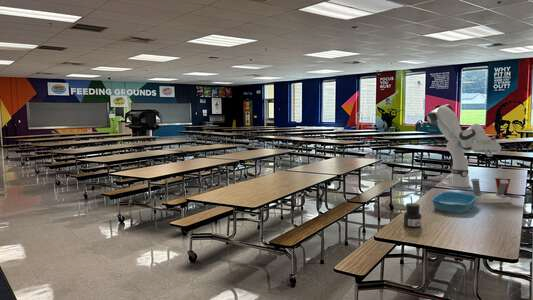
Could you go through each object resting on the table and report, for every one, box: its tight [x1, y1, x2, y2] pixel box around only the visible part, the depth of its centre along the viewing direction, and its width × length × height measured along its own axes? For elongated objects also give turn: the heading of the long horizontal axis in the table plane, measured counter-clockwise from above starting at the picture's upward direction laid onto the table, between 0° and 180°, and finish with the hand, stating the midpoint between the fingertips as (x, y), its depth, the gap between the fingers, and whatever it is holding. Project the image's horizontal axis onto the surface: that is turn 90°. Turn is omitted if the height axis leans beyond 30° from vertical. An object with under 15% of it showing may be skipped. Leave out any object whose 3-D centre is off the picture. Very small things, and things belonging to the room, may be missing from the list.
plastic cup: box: [494, 176, 512, 194], centre depth 286 cm, size 11×11×12 cm
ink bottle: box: [403, 202, 422, 229], centre depth 206 cm, size 10×9×12 cm
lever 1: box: [470, 178, 482, 196], centre depth 263 cm, size 2×4×12 cm, turn 92°
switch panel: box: [470, 193, 512, 204], centre depth 263 cm, size 14×22×3 cm, turn 92°
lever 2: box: [495, 180, 510, 196], centre depth 260 cm, size 2×4×12 cm, turn 91°
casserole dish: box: [431, 191, 477, 214], centre depth 244 cm, size 37×22×7 cm, turn 139°
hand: (490, 156), depth 273 cm, fingers closed
